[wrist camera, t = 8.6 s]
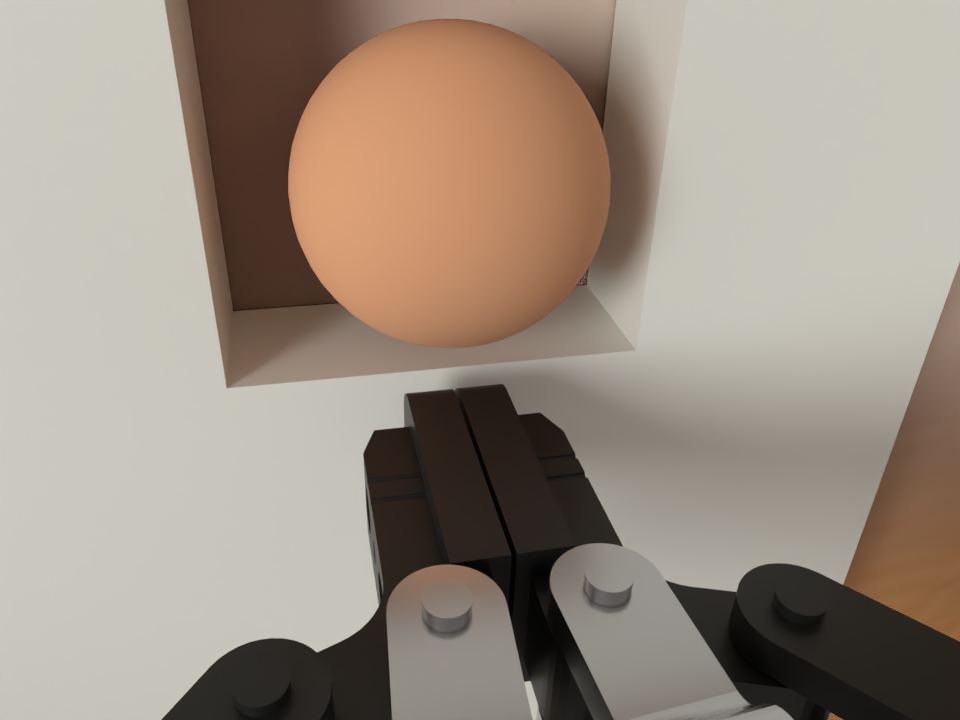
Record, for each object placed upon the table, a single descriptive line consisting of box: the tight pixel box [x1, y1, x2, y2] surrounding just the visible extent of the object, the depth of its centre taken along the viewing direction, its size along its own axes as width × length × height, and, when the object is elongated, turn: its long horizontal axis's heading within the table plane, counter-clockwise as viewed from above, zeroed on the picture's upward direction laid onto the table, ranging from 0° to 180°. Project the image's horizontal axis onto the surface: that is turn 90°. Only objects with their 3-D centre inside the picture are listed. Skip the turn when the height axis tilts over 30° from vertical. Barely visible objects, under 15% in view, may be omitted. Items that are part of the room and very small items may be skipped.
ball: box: [288, 19, 611, 348], centre depth 12 cm, size 4×4×4 cm
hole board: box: [0, 0, 960, 720], centre depth 14 cm, size 24×18×2 cm
